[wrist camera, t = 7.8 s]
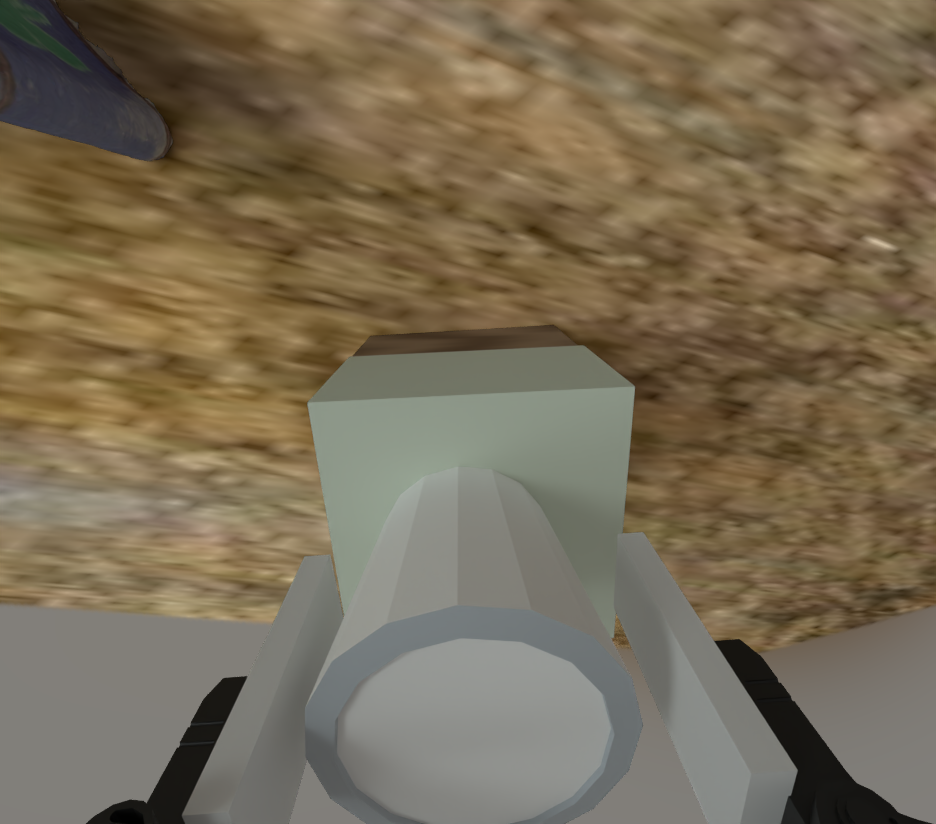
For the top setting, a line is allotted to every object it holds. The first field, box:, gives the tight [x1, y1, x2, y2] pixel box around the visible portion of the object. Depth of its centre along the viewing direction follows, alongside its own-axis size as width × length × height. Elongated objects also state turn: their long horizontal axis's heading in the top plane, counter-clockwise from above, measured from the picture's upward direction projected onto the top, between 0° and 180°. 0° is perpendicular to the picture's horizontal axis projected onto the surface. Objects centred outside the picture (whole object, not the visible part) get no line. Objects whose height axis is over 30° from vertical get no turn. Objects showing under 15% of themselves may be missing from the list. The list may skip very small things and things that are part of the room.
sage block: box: [307, 345, 635, 638], centre depth 19 cm, size 10×10×6 cm
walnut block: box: [353, 325, 578, 356], centre depth 24 cm, size 10×10×6 cm
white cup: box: [305, 466, 643, 824], centre depth 13 cm, size 7×7×7 cm
